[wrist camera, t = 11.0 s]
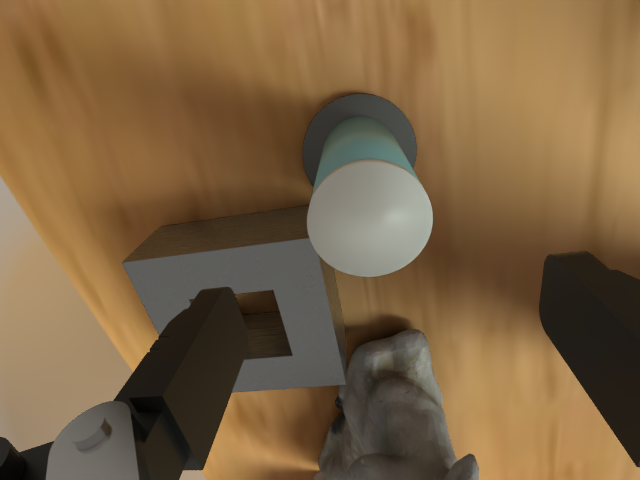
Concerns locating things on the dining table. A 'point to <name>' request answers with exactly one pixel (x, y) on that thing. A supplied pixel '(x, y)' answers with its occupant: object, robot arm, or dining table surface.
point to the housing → (252, 276)
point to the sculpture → (392, 418)
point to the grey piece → (318, 476)
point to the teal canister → (367, 202)
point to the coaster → (352, 108)
